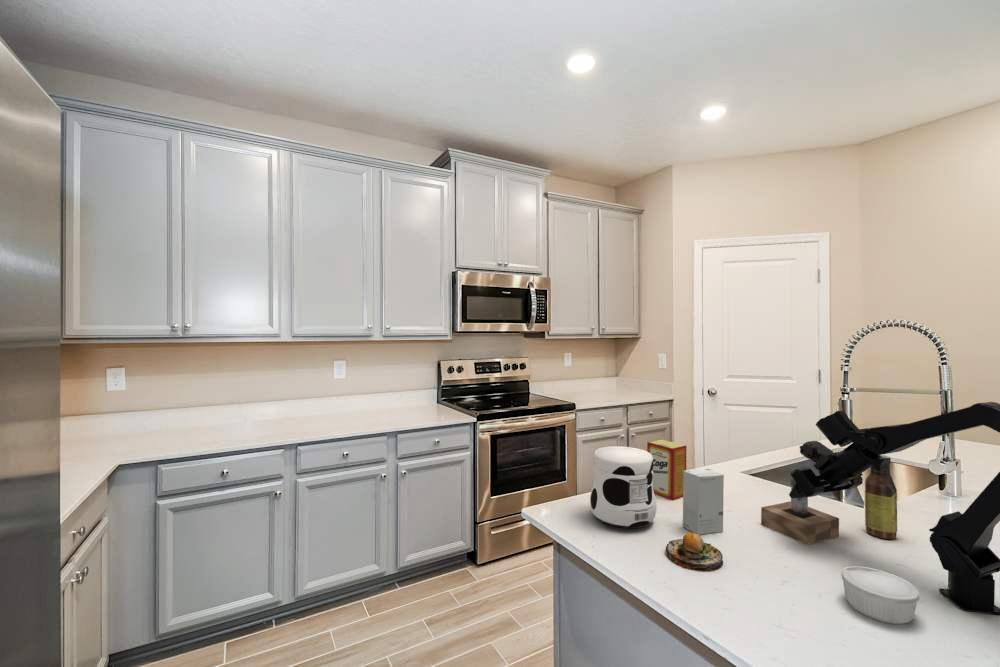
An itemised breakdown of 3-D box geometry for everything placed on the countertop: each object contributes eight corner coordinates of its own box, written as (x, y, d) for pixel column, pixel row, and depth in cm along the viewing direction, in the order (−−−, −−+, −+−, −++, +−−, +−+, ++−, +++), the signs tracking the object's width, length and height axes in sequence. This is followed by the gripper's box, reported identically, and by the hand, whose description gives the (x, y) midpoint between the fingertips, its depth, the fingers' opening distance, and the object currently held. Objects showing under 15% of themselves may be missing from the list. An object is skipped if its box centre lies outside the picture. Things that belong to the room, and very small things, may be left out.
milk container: (604, 502, 135) (604, 442, 134) (663, 516, 125) (664, 451, 125) (579, 523, 120) (580, 455, 120) (645, 540, 111) (645, 467, 110)
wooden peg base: (838, 536, 113) (839, 518, 113) (806, 544, 109) (806, 526, 109) (792, 517, 124) (792, 500, 124) (761, 524, 120) (761, 507, 120)
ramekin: (881, 591, 90) (881, 564, 90) (937, 628, 79) (938, 598, 79) (826, 592, 89) (826, 565, 89) (875, 630, 78) (875, 599, 78)
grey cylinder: (807, 535, 114) (808, 483, 113) (788, 530, 116) (789, 480, 116) (808, 529, 117) (809, 479, 116) (790, 525, 119) (791, 476, 119)
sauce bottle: (903, 541, 110) (904, 460, 110) (874, 539, 111) (875, 459, 111) (886, 529, 117) (887, 453, 116) (858, 527, 118) (859, 451, 118)
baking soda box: (647, 490, 144) (647, 440, 144) (660, 486, 148) (660, 438, 147) (672, 500, 136) (673, 447, 136) (686, 496, 140) (686, 444, 139)
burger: (732, 559, 102) (732, 527, 102) (708, 579, 94) (708, 544, 94) (681, 540, 111) (681, 510, 111) (655, 557, 103) (655, 524, 103)
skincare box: (697, 536, 113) (698, 477, 113) (681, 526, 119) (681, 469, 118) (724, 531, 115) (725, 473, 115) (707, 521, 121) (707, 466, 121)
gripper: (849, 429, 114) (805, 461, 124) (798, 436, 107) (756, 469, 117) (885, 469, 107) (835, 500, 117) (833, 479, 100) (785, 511, 110)
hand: (802, 494), depth 115 cm, fingers open, 9 cm apart
